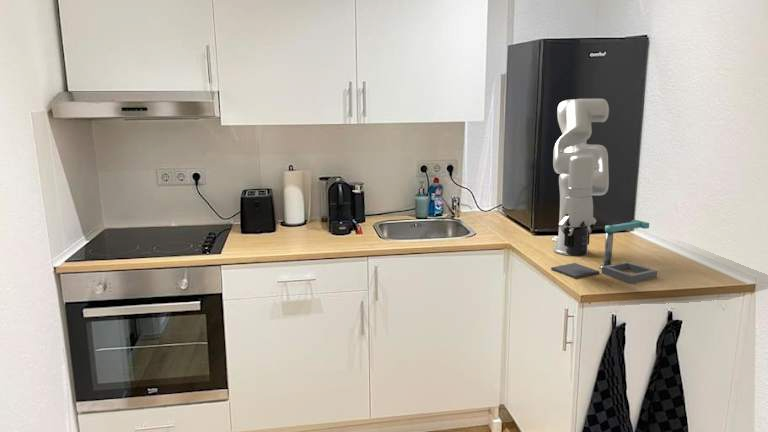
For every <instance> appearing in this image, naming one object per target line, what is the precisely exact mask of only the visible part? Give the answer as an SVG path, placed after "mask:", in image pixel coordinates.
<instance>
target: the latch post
mask: <svg viewBox="0 0 768 432" xmlns="http://www.w3.org/2000/svg"><path fill="white" fill-rule="evenodd" d="M604 241H605V242H604V256H603V263H602V264H599V266H598V269H599V270H601V271H602V266H607V265H612V259H613V258H612V257H613V245H614V233H609V232H605V240H604Z"/></svg>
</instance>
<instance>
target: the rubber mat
mask: <svg viewBox="0 0 768 432" xmlns="http://www.w3.org/2000/svg"><path fill="white" fill-rule="evenodd" d="M550 269H551V271H554V272H557V273H558V274H561V275H565V276H566V277H570V278H573V279H580V278H585V277H588V276H589V277H590V276H593V275H599V274H600V270H596V269H594V268H590V267H588V266H585V265H583V264H580V263H577V262H573V263H572V262H571V263H567V264H562V265H558V266H552V267H551V268H550Z"/></svg>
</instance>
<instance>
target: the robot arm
mask: <svg viewBox="0 0 768 432" xmlns="http://www.w3.org/2000/svg"><path fill="white" fill-rule="evenodd" d="M609 113H610V107H609V103H608V101H607V100H606V99H604V98H576V99H575V98H573V99H572V98H571V99H565V100H562V101H561V102H559V104H558V106H557V111H556V115H557V123H558V126H559V129H560V131H561V136H559V138H558V139H557V140H556V142H555V143H554V147H553V153H552V154H553V156H552V157H553V158H552V164H553V165H552V166H553V170H554V172H555V173H556V174H559V176H558V187H559V188H558V189H559V218H558V219H559V220H558V236H557V235H556V236H554V238H552V239H551V241H552V242H553V243H555V245H554V246H553V247H552V248H553V251H554V252H555V253H557V254H560V255H564V256H569V255H568V254H567V253H566V246H567V247H570V248H571V247H573V236H571V235H572V233H573V230H574V228H577V227H580V225H581V223H583V222H584V223H585V225H584V226H585V227H586V228H587V229H588V245H590V234H591V233H592V229H594V225H595V224H596V223H597V219H596V218H595V217H594V201H593V196H604V195H606V193H608V190H609V187H610V186H609V184H610V183H609V181H610V177H609V176H610V175H609V174H610V173H609V154H608V150H607V148H606V147H605V146H604V145H601V144H589V143H587V140H589V139H590V137H591V136H592V133H593V132H592V131H593V129H592V123H605V122H606V121H607V120H608V118H609ZM569 228H570V230H568V229H569ZM588 253H589V249H588V248H587V254H588Z"/></svg>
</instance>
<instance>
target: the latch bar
mask: <svg viewBox="0 0 768 432" xmlns="http://www.w3.org/2000/svg"><path fill="white" fill-rule="evenodd" d="M639 228H641V229H644V230H646V229H649V228H650V222H647V221H641V220H637V219H631V220H630V222H623V223H618V224H611V225H610V224H608V225H605V226H604V232H605V233H606V232H609V233H613V234H614V233H616V232H621V231H627V230H633V229H639Z"/></svg>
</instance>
